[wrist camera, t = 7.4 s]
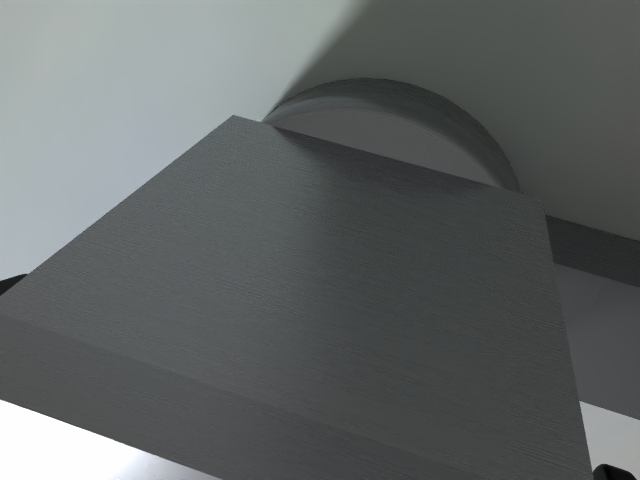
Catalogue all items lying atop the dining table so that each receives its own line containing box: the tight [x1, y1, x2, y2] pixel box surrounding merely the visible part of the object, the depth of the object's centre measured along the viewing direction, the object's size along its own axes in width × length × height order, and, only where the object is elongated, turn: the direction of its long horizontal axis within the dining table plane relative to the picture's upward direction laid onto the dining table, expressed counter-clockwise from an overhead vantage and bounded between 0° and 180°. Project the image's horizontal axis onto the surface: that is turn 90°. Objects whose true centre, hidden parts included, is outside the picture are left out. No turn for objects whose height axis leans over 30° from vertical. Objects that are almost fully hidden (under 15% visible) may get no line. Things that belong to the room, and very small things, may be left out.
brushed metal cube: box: [0, 115, 594, 480], centre depth 8 cm, size 6×6×7 cm
